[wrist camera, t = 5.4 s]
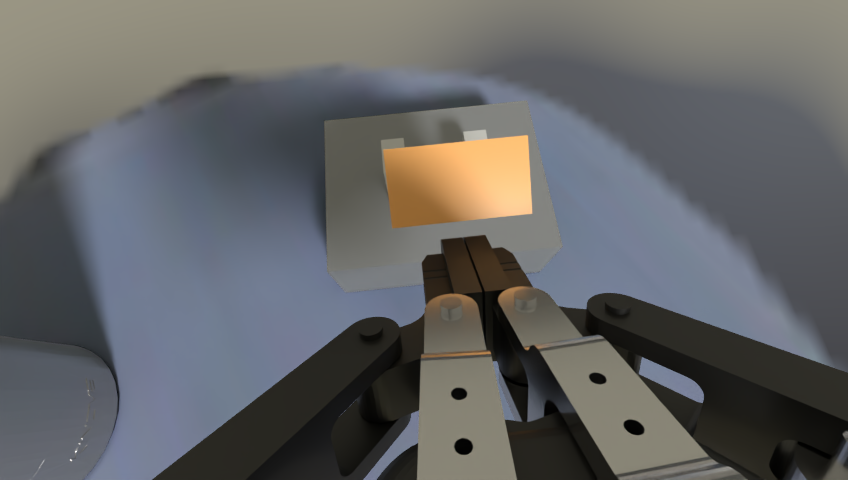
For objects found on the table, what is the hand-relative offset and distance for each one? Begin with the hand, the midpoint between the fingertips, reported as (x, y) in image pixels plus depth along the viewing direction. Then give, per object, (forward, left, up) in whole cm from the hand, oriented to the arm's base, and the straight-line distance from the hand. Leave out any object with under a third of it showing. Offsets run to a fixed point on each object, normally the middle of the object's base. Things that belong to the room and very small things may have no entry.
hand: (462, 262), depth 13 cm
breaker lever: (0, +8, -8) cm, 11 cm away
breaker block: (0, +8, -13) cm, 15 cm away
